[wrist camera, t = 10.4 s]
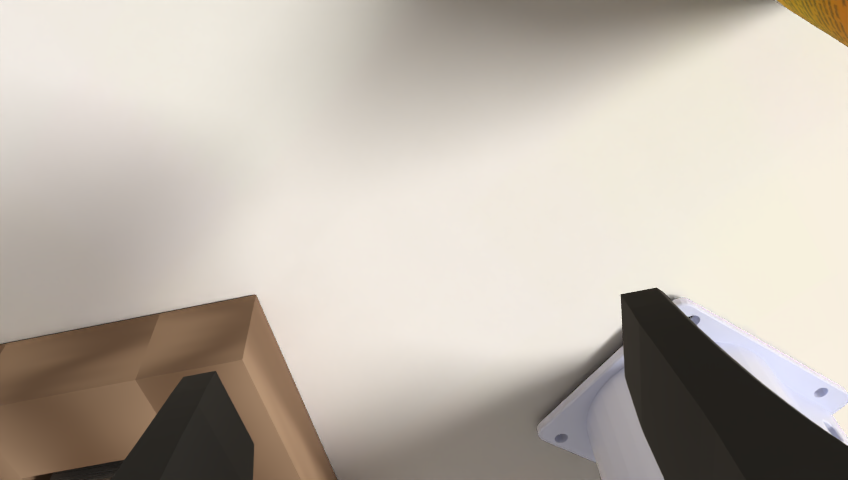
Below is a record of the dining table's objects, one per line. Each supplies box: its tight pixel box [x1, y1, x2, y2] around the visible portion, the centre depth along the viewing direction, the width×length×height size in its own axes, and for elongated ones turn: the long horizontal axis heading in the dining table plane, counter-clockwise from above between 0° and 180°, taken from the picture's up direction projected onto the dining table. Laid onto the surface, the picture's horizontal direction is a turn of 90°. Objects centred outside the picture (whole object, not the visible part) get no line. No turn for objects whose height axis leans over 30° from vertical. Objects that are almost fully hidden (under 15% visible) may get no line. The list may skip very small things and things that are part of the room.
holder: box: [0, 295, 337, 480], centre depth 26 cm, size 12×12×3 cm
